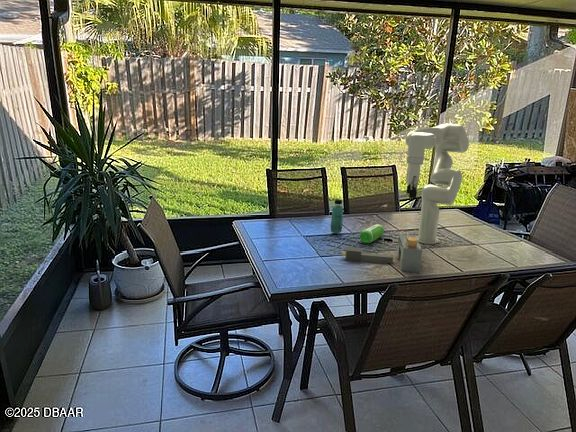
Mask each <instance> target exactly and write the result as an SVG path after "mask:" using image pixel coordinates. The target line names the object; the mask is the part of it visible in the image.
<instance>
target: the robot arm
mask: <svg viewBox="0 0 576 432" xmlns="http://www.w3.org/2000/svg"><path fill="white" fill-rule="evenodd" d="M405 144H406V145H407V154H406V155H407V158H406V164H407V169H406V176H405V182H406V184H407V185H406V194H407V195H408V198H409V199H416V198H417V194H418V185H419V183H420V175H421V165H423V164H424V162H425V161H424V159H425V150H431V149H433V148H434V147H435V153H436V161H435V163H434V166H433V169H432V171H431V175H430V182H431V183H429V184H425V185H423V186H422V189H421V207H420V217H419V227H418V233H417V235H415V236H416V238H417V240H418V242H419V244H420V243H421V244H425V245H436V244H438V243H439V241H440V240H439V238H437V234H438V226H439V219H440V207H439V205H446V206H451V205H453V204H454V202H455V201H456V198H457V196H458V193H459V190H460V187H461V185H462V182H463V173H462V171H461V170H459V169H457V168H452V166H453V163H454V162H453V159H452V157H451V155H450V154H449V153H450V152H451V153H459V154H462V153H463V154H464V153H466V152H467V151H468V150H469V146H470V142H469V138H468V134H467V131H466V129H465V127H464V126H463V125H461V124H460V123H459V124H456V123H441V124H438V125H435V126H433V127H425V128H416V129H414V130H411V131H409V132H408V133H407V134H406V137H405ZM438 204H439V205H438Z"/></svg>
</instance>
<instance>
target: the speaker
mask: <svg viewBox="0 0 576 432" xmlns="http://www.w3.org/2000/svg"><path fill="white" fill-rule="evenodd" d="M384 233H385V227H384V226H383V225H382V224H379V223H377V224H373V225H372V226H369V227H368V228H364V230H362V231H361V232H360V234H359V239H360V240H361V242H362V243H364V244H370V243H372V242H375V241H376V240H378V239H379V238H381V237H383V235H384Z"/></svg>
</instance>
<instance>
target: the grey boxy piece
mask: <svg viewBox="0 0 576 432" xmlns="http://www.w3.org/2000/svg"><path fill="white" fill-rule="evenodd" d="M416 236H417V235H415V234H414V235H411V234H398V239H397V246H396V247H397V249H396V258H397V260H398V261H399V260H400V261H399V269H400V271H401V272H409V273H420V270H421V269H420V268H421V262H422V261H421V260H422V252H423V249H422V247H421V244H420V242H418V240H417V238H416Z"/></svg>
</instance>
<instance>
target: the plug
mask: <svg viewBox="0 0 576 432" xmlns="http://www.w3.org/2000/svg"><path fill="white" fill-rule="evenodd" d="M341 256H345V261H350V262H371V263H381V264H382V263H383V264H384V263H385V264H393V261H394V256H393V255H392V254H384V253H382V254H380V253H379V254H378V253H370V252H369V253H367V252H362V248H361V247H354V246H353V247H352V246H351V247H350V246H346V249H345V251H341Z"/></svg>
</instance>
